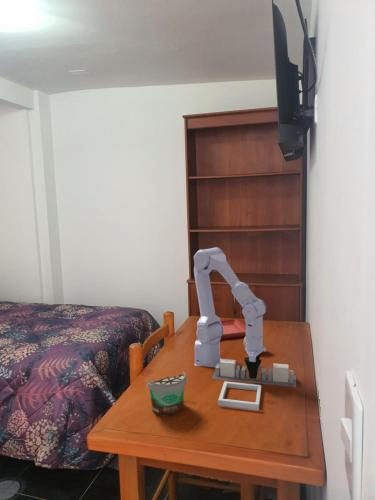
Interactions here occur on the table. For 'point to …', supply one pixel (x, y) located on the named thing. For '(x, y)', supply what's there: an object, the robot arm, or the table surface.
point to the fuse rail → (265, 379)
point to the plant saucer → (232, 329)
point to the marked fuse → (257, 372)
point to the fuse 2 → (280, 372)
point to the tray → (236, 403)
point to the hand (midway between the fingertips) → (253, 373)
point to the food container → (167, 395)
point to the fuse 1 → (227, 367)
